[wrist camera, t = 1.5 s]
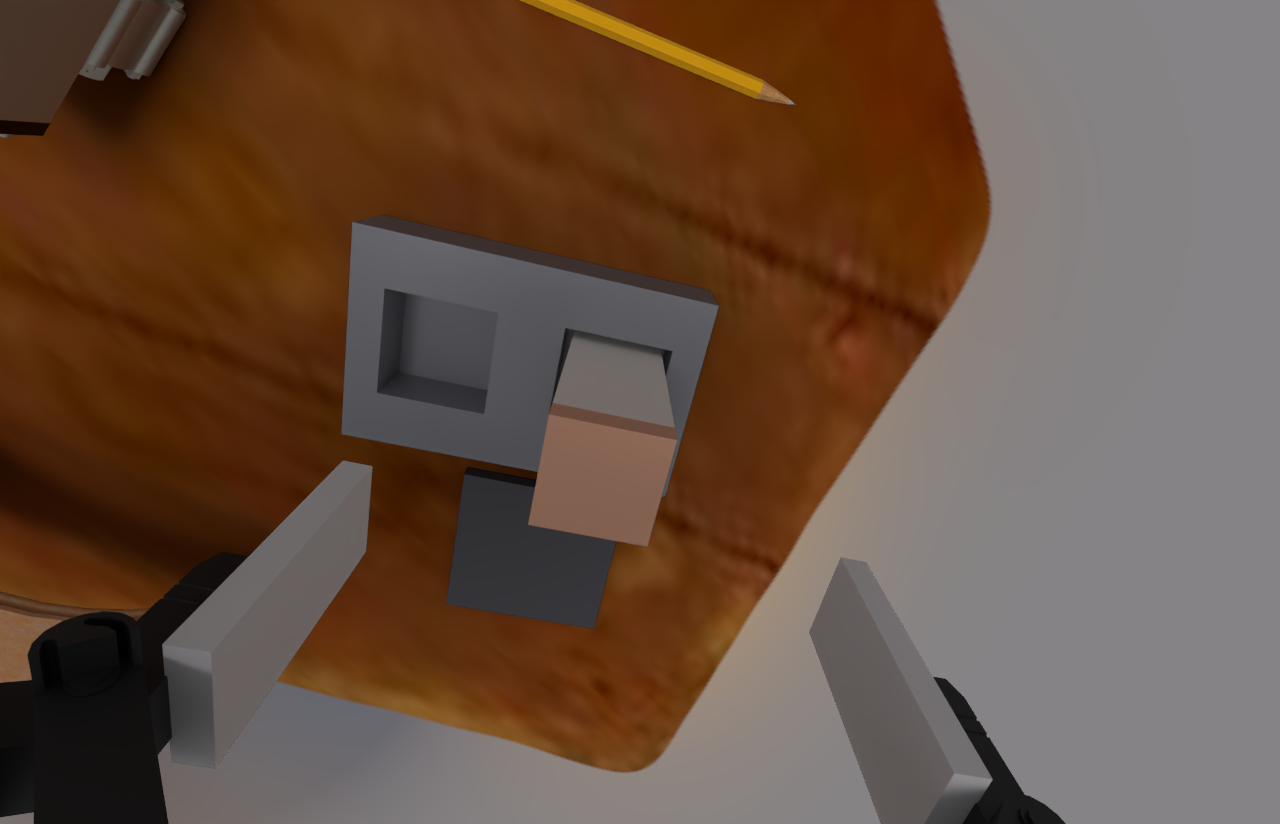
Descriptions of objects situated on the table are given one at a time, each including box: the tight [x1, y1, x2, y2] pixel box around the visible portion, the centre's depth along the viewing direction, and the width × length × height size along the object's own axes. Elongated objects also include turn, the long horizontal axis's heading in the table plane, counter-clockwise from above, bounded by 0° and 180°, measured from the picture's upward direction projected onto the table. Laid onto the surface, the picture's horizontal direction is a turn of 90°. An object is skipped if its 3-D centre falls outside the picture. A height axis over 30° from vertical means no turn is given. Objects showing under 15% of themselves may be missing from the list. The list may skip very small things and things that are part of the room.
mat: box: [446, 468, 616, 629], centre depth 36 cm, size 9×9×1 cm
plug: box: [528, 330, 677, 546], centre depth 26 cm, size 4×4×12 cm
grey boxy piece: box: [341, 215, 719, 496], centre depth 30 cm, size 16×10×4 cm, turn 77°
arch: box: [0, 592, 150, 683], centre depth 30 cm, size 6×20×10 cm, turn 60°
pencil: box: [520, 0, 794, 104], centre depth 26 cm, size 1×19×1 cm, turn 70°
